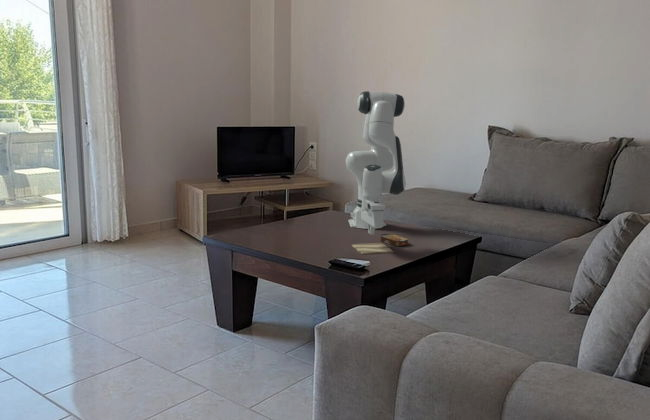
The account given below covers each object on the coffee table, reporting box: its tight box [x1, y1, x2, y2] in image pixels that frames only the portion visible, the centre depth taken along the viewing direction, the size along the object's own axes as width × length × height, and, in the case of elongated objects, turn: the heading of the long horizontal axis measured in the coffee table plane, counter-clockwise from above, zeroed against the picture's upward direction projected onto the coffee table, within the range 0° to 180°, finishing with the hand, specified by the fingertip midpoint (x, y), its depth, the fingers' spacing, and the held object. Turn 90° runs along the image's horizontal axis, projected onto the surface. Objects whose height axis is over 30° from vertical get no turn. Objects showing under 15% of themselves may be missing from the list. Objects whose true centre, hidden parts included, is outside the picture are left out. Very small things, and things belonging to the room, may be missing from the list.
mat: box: [351, 242, 394, 255], centre depth 258 cm, size 15×14×1 cm
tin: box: [379, 233, 409, 247], centre depth 269 cm, size 15×3×8 cm
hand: (371, 234), depth 258 cm, fingers closed
